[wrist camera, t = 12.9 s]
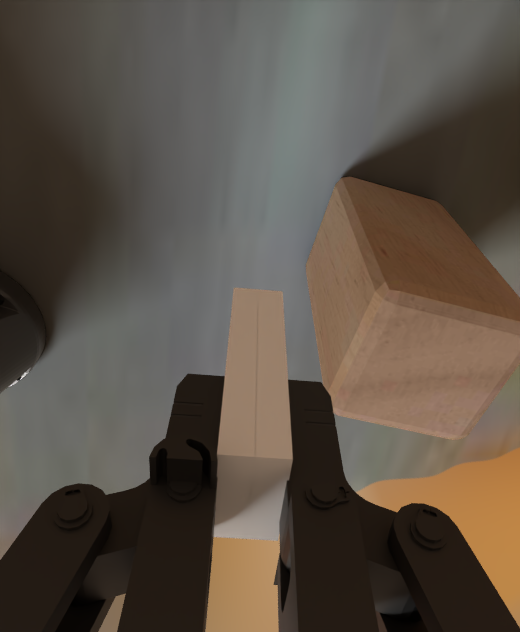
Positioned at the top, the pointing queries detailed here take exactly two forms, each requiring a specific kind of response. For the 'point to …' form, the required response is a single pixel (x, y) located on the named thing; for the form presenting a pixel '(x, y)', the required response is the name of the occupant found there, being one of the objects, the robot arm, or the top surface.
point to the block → (408, 313)
